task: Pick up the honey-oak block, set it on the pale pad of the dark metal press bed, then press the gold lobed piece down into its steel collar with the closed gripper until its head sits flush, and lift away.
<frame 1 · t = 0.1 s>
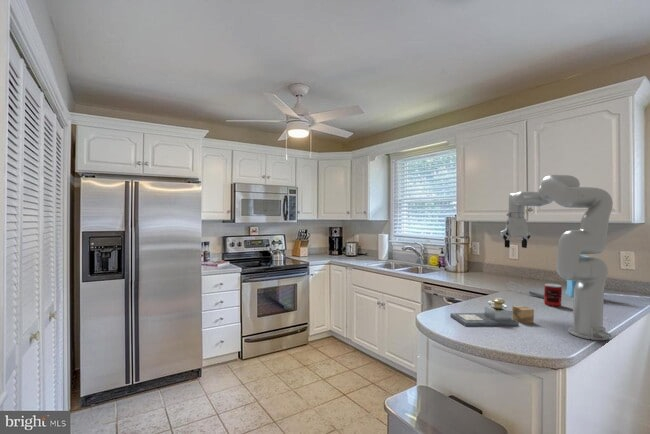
hand: (515, 247, 178), 31 cm above the countertop, tool pointing down, fingers open, 9 cm apart
kitchen whisk: (529, 295, 204), on the countertop
press bed: (483, 320, 150), on the countertop
oak block: (522, 320, 151), on the countertop
gold lobed piece: (498, 305, 150), point 7 cm above the countertop, slide at 3.0 cm
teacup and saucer: (496, 305, 181), on the countertop
vase: (577, 296, 202), on the countertop
canned food: (552, 305, 180), on the countertop
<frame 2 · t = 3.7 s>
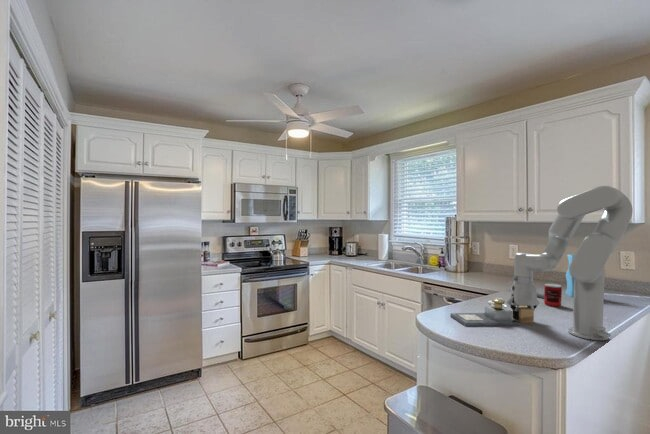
hand: (522, 318, 151), 1 cm above the countertop, tool pointing down, fingers closed on oak block, 6 cm apart
oak block: (522, 320, 151), on the countertop, touching gripper
everything else where it was.
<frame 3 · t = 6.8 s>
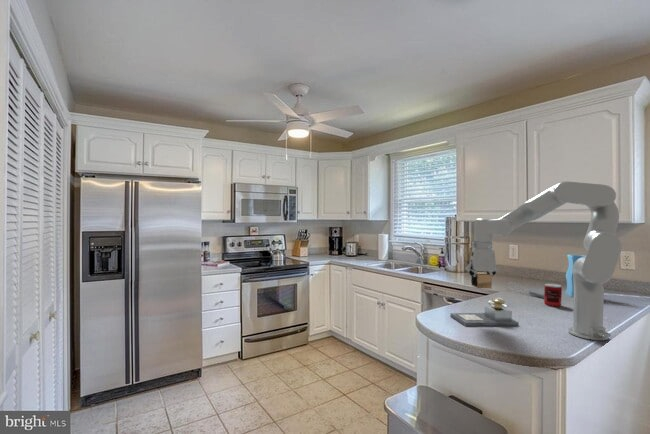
hand: (481, 285, 150), 16 cm above the countertop, tool pointing down, fingers closed on oak block, 6 cm apart
oak block: (481, 286, 150), point 15 cm above the countertop, touching gripper
everything else where it was.
when the fingers open (4 cm above the countertop, at t = 9.9 s): oak block drops 1 cm, resting on press bed.
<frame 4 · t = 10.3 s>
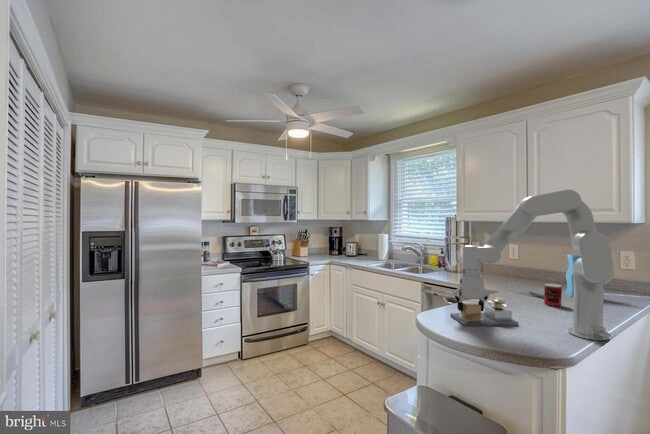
hand: (470, 310, 149), 5 cm above the countertop, tool pointing down, fingers open, 9 cm apart
oak block: (470, 317, 149), point 2 cm above the countertop, touching press bed
everything else where it was.
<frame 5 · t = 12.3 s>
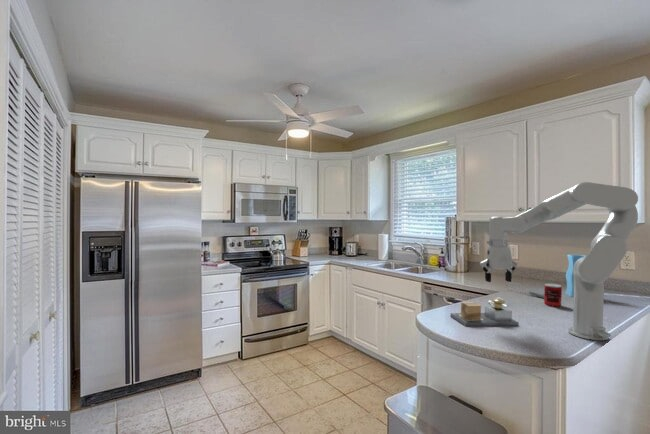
hand: (498, 281, 150), 18 cm above the countertop, tool pointing down, fingers open, 9 cm apart
nothing on the countertop moved.
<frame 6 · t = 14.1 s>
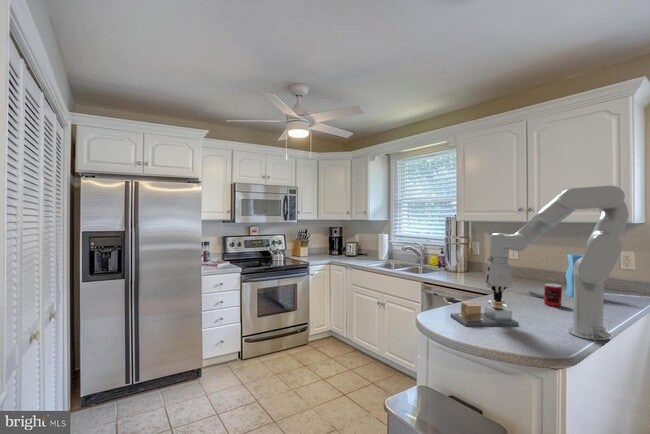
hand: (497, 300, 150), 9 cm above the countertop, tool pointing down, fingers closed
gold lobed piece: (498, 305, 150), point 7 cm above the countertop, slide at 2.7 cm, touching gripper
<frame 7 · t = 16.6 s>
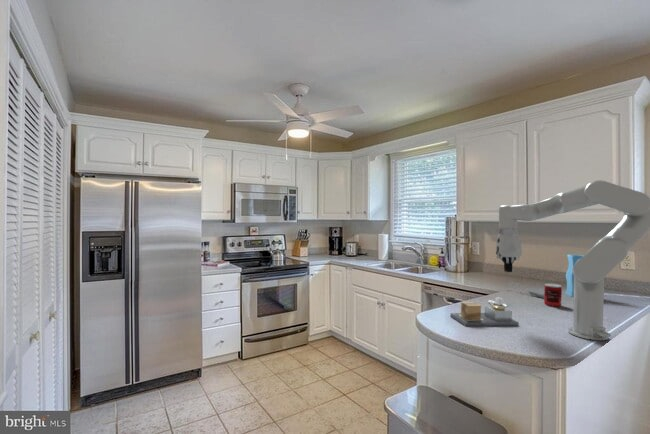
hand: (508, 271, 153), 22 cm above the countertop, tool pointing down, fingers closed
gold lobed piece: (498, 311, 150), point 4 cm above the countertop, slide at 0.0 cm
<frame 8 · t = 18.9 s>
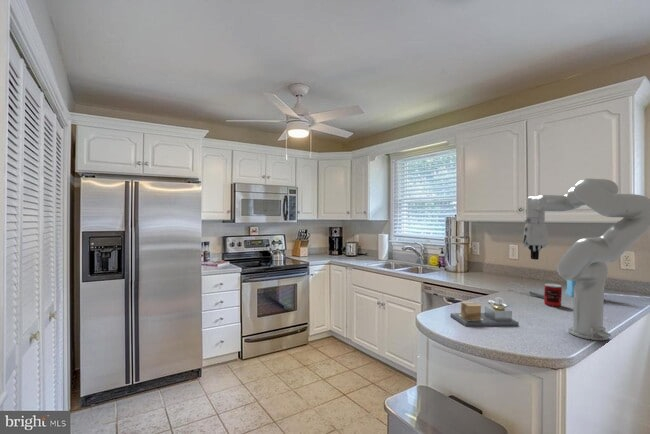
hand: (534, 259, 161), 27 cm above the countertop, tool pointing down, fingers closed
at the end: oak block 0.1 cm from the target spot on the press bed, point 1.7 cm above the press bed's base; oak block tilted 0°; gold lobed piece slide at 0.0 cm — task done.
